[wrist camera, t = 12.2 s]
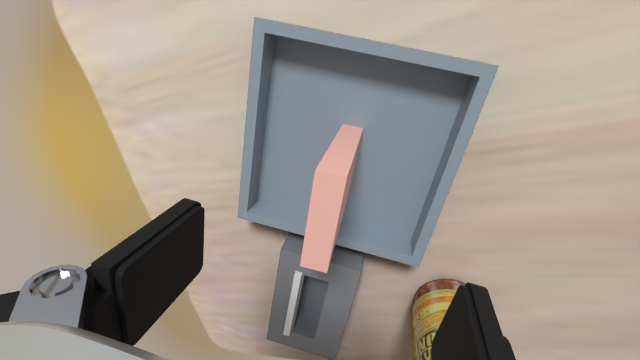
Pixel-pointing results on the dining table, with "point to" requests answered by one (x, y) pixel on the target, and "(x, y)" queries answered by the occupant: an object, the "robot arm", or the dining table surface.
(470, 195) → the dining table surface
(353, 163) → the ticket
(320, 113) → the tray
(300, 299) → the dispenser
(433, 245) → the dining table surface
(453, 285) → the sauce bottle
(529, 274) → the dining table surface
